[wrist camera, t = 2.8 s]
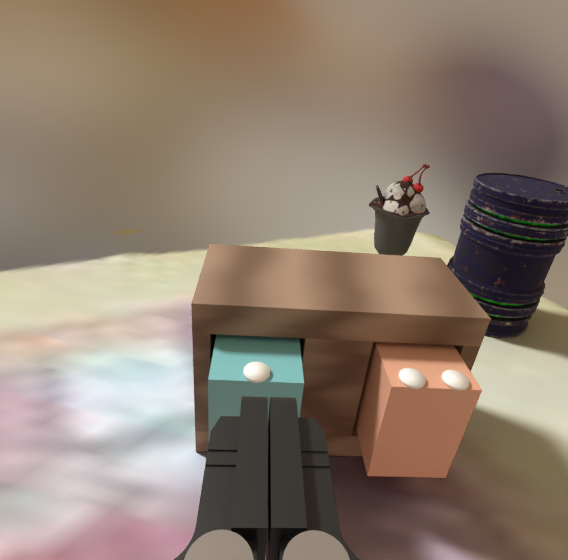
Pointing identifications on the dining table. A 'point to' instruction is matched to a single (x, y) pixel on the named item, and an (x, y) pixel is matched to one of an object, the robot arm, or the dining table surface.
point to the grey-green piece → (252, 372)
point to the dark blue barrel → (509, 246)
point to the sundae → (398, 215)
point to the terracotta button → (414, 409)
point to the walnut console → (328, 320)
